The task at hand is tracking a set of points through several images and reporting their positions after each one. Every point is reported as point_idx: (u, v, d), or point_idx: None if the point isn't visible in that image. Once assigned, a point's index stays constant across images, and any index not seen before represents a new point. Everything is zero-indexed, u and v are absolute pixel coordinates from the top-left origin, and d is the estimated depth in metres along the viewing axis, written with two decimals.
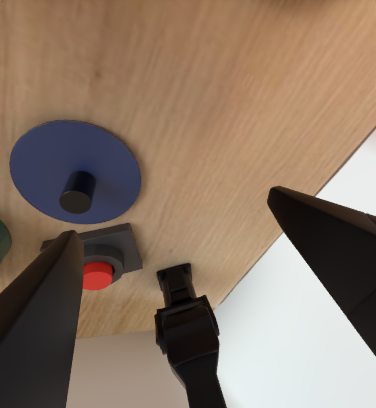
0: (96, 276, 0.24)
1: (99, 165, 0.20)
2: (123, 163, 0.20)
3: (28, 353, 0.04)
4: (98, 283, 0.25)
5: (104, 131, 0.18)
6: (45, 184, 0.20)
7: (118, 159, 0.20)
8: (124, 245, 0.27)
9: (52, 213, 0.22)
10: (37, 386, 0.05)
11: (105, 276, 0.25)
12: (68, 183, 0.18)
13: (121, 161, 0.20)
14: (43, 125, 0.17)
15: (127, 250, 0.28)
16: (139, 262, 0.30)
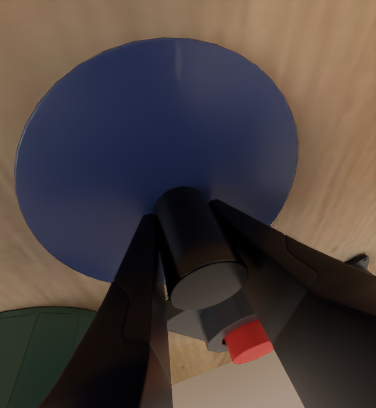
0: (258, 348, 0.14)
1: (203, 158, 0.08)
2: (255, 124, 0.07)
3: (158, 313, 0.05)
4: (261, 352, 0.15)
5: (192, 41, 0.05)
6: (119, 246, 0.09)
7: (243, 119, 0.07)
8: None
9: None
10: (163, 343, 0.05)
11: None
12: (165, 238, 0.06)
13: (251, 121, 0.07)
14: (36, 113, 0.05)
15: None
16: None
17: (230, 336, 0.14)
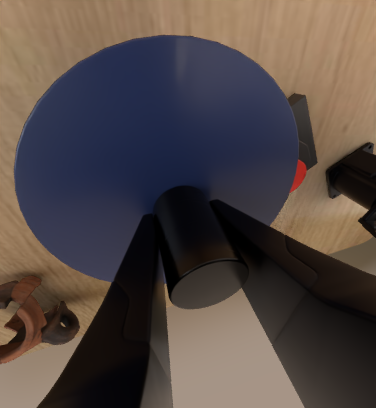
0: None
1: (204, 156, 0.08)
2: (256, 123, 0.07)
3: (158, 313, 0.05)
4: None
5: (192, 39, 0.05)
6: (119, 245, 0.09)
7: (244, 117, 0.07)
8: (298, 128, 0.20)
9: None
10: (163, 343, 0.05)
11: (300, 166, 0.18)
12: (166, 237, 0.06)
13: (252, 119, 0.07)
14: (36, 111, 0.05)
15: (301, 136, 0.20)
16: (314, 153, 0.22)
17: None
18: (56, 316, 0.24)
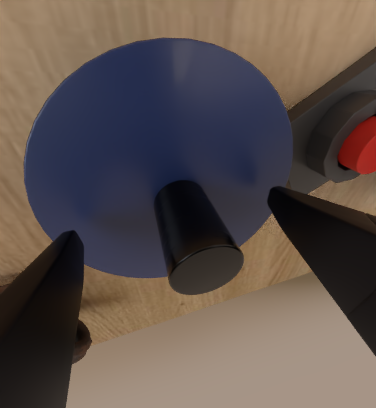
0: None
1: (202, 152, 0.08)
2: (252, 120, 0.08)
3: (28, 353, 0.04)
4: None
5: (191, 41, 0.06)
6: (121, 238, 0.10)
7: (240, 115, 0.08)
8: None
9: (152, 273, 0.12)
10: (37, 386, 0.05)
11: None
12: (166, 227, 0.07)
13: (247, 117, 0.08)
14: (45, 108, 0.06)
15: None
16: None
17: (354, 134, 0.14)
18: None
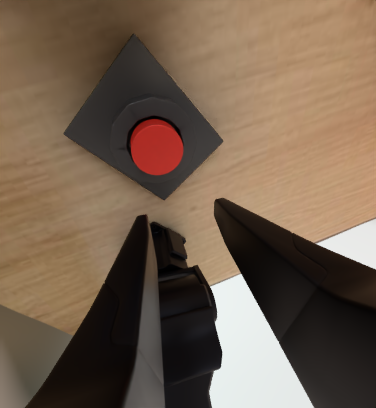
0: (171, 146, 0.15)
1: None
2: None
3: (149, 315, 0.05)
4: (154, 158, 0.15)
5: None
6: None
7: None
8: (196, 152, 0.19)
9: None
10: (154, 346, 0.05)
11: (176, 157, 0.15)
12: None
13: None
14: None
15: None
16: (173, 189, 0.21)
17: (161, 121, 0.15)
18: None
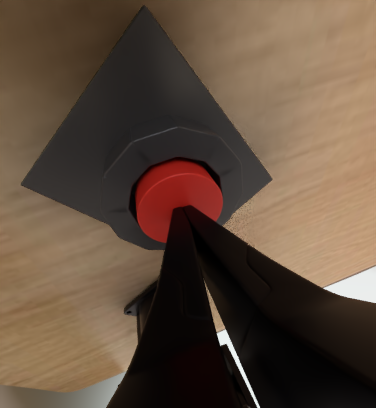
0: (204, 203, 0.09)
1: None
2: None
3: None
4: None
5: None
6: None
7: None
8: None
9: None
10: None
11: None
12: None
13: None
14: None
15: None
16: None
17: (188, 161, 0.09)
18: None
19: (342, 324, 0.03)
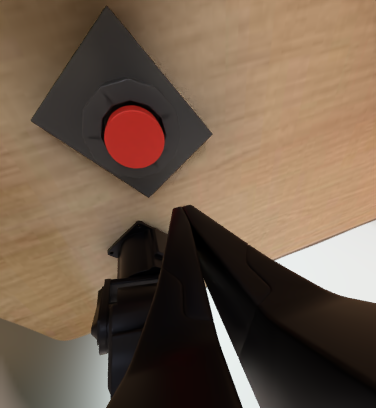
0: (150, 135, 0.13)
1: None
2: None
3: None
4: (131, 149, 0.13)
5: None
6: None
7: None
8: (182, 145, 0.18)
9: None
10: None
11: (157, 149, 0.14)
12: None
13: None
14: None
15: (175, 155, 0.18)
16: (158, 185, 0.19)
17: (139, 107, 0.13)
18: None
19: (342, 324, 0.03)
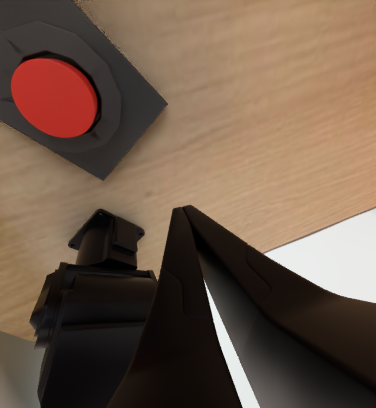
0: (73, 94, 0.11)
1: None
2: None
3: None
4: (52, 112, 0.11)
5: None
6: None
7: None
8: (133, 117, 0.15)
9: None
10: None
11: (86, 113, 0.11)
12: None
13: None
14: None
15: (126, 129, 0.16)
16: (112, 166, 0.17)
17: (59, 60, 0.11)
18: None
19: (342, 324, 0.03)
